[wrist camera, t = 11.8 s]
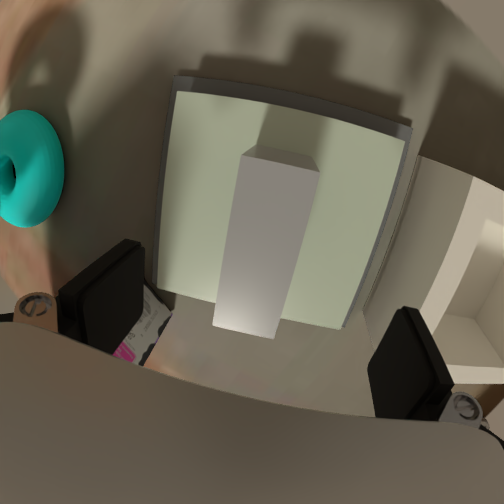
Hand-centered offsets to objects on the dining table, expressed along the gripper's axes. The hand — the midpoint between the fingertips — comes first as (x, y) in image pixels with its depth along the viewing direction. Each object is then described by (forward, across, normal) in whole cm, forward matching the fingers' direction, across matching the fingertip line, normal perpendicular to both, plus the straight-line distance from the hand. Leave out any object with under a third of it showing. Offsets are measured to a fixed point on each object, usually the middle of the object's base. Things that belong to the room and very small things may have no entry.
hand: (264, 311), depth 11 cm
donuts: (+10, +21, -1) cm, 24 cm away
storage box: (+11, -14, -1) cm, 17 cm away
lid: (+10, +1, -1) cm, 10 cm away
